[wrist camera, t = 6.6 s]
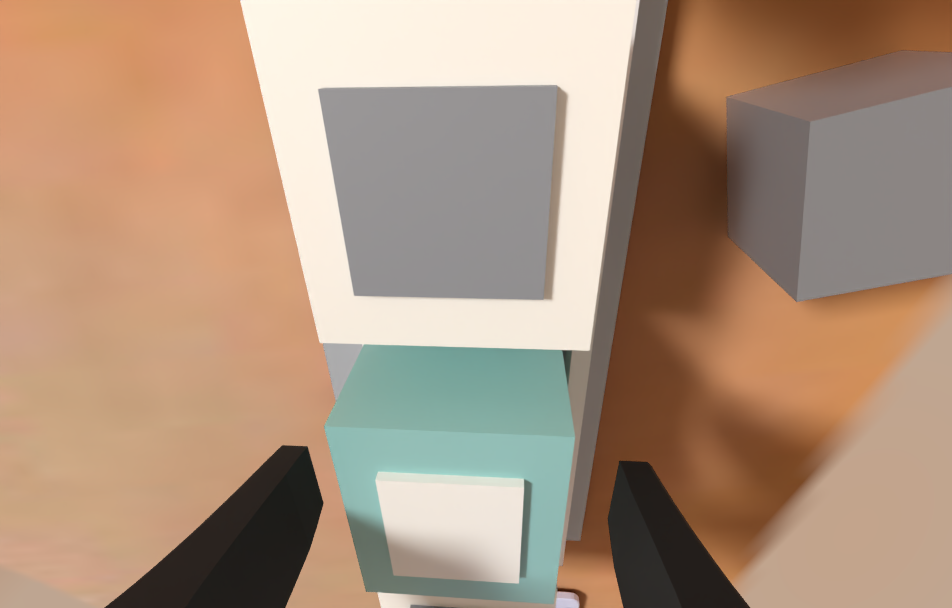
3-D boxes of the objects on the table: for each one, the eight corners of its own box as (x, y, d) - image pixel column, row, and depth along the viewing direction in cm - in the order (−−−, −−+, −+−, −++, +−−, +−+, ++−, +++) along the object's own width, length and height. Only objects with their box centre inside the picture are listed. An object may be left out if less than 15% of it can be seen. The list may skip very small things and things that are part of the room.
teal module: (539, 400, 17) (554, 613, 11) (418, 395, 17) (363, 600, 11) (549, 264, 14) (576, 446, 8) (404, 261, 14) (320, 435, 8)
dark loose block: (875, 204, 13) (1004, 264, 10) (726, 235, 14) (796, 301, 10) (899, 49, 11) (1070, 57, 8) (725, 96, 12) (810, 121, 9)
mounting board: (578, 528, 21) (602, 714, 16) (368, 516, 22) (315, 690, 16) (672, -77, 10) (882, -223, 4) (242, -61, 11) (-66, -168, 5)
